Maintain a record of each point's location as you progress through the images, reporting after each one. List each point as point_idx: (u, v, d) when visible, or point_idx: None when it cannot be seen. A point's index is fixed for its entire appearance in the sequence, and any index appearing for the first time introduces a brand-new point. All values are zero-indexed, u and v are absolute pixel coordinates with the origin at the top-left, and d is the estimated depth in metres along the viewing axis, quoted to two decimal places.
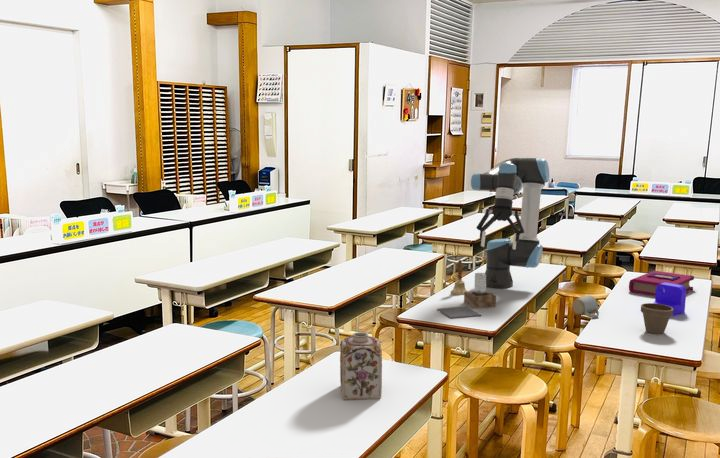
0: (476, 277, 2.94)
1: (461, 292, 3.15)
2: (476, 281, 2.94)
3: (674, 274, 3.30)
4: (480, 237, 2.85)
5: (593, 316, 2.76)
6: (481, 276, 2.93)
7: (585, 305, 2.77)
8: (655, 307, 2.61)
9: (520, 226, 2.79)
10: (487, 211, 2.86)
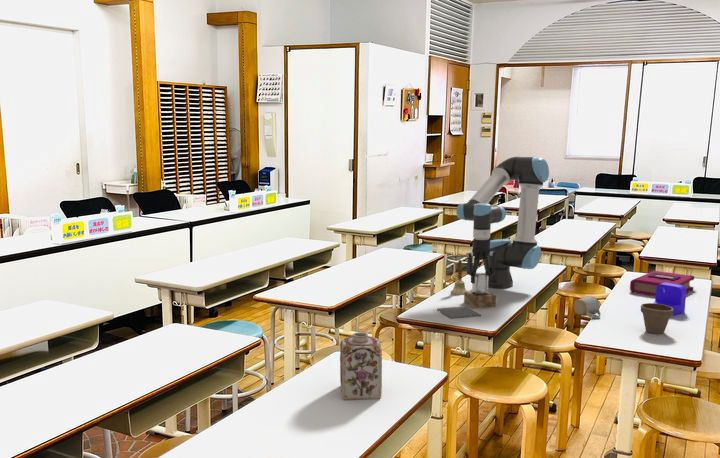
0: None
1: (461, 292, 3.15)
2: None
3: (674, 274, 3.30)
4: (473, 282, 2.94)
5: (595, 317, 2.75)
6: (481, 276, 2.93)
7: (586, 305, 2.76)
8: (655, 307, 2.61)
9: (493, 268, 2.95)
10: (470, 256, 2.91)
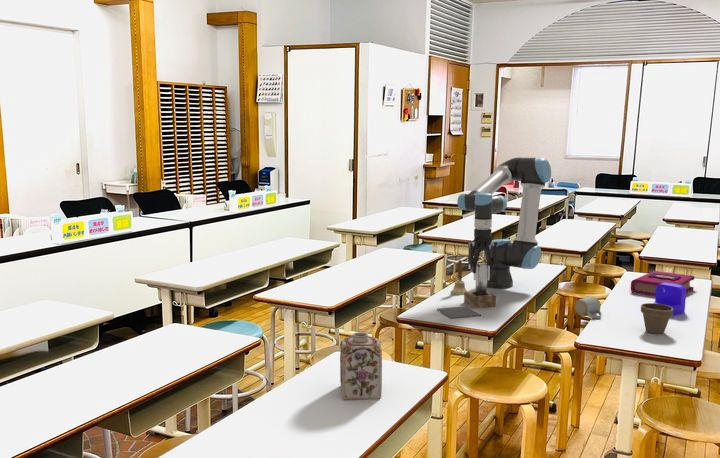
0: None
1: (461, 292, 3.15)
2: None
3: (674, 274, 3.29)
4: (474, 272, 2.93)
5: (595, 317, 2.74)
6: (482, 266, 2.92)
7: (587, 305, 2.76)
8: (655, 307, 2.61)
9: (494, 258, 2.95)
10: (471, 245, 2.91)
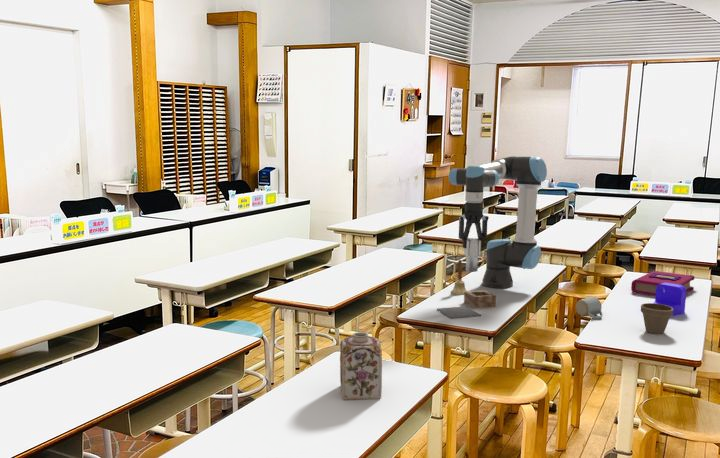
0: None
1: (461, 292, 3.15)
2: None
3: (674, 274, 3.29)
4: (464, 247, 2.85)
5: (597, 317, 2.74)
6: (473, 241, 2.84)
7: (588, 306, 2.75)
8: (655, 307, 2.61)
9: (485, 232, 2.87)
10: (462, 219, 2.83)
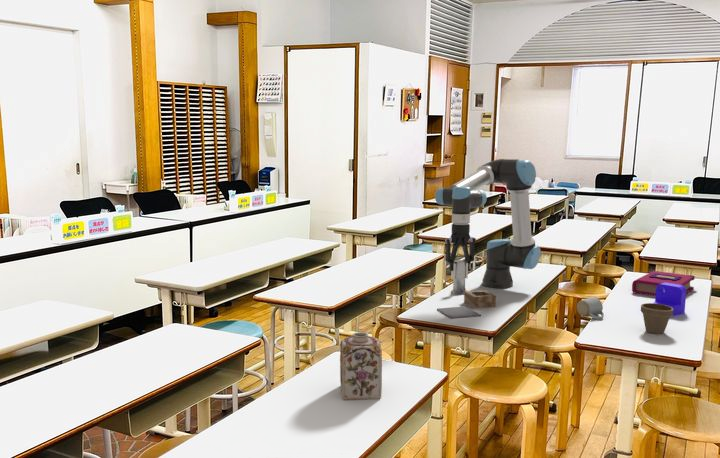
0: None
1: None
2: None
3: (674, 274, 3.29)
4: (451, 270, 2.79)
5: (598, 318, 2.73)
6: (460, 263, 2.78)
7: (589, 306, 2.75)
8: (655, 307, 2.61)
9: (473, 254, 2.80)
10: (448, 241, 2.76)
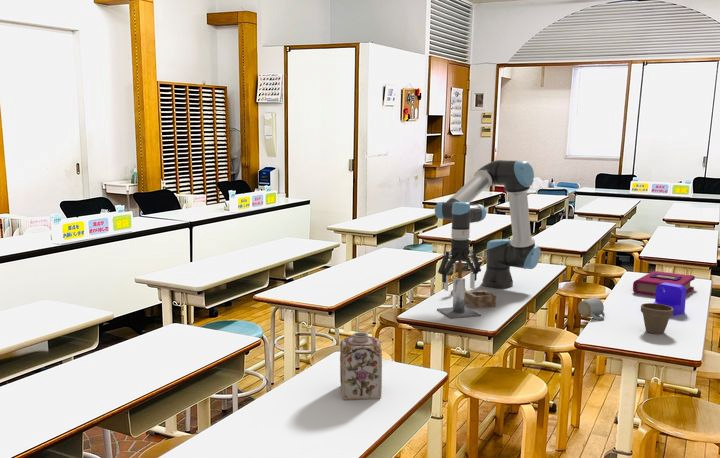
0: (454, 282, 2.81)
1: None
2: (454, 286, 2.81)
3: (675, 274, 3.29)
4: (444, 282, 2.79)
5: (599, 318, 2.73)
6: (459, 281, 2.80)
7: (591, 306, 2.74)
8: (655, 307, 2.61)
9: (478, 266, 2.82)
10: (447, 254, 2.77)
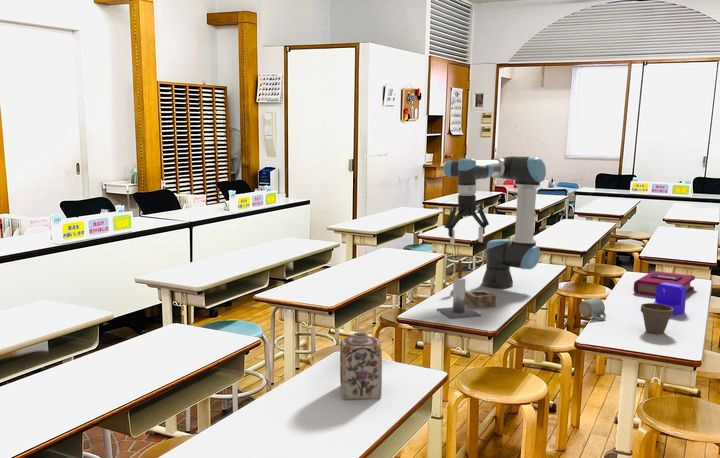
0: (455, 283, 2.80)
1: None
2: (455, 287, 2.81)
3: (675, 274, 3.29)
4: (450, 236, 2.86)
5: (600, 318, 2.72)
6: (460, 281, 2.79)
7: (592, 307, 2.74)
8: (655, 307, 2.61)
9: (486, 220, 2.89)
10: (455, 209, 2.84)
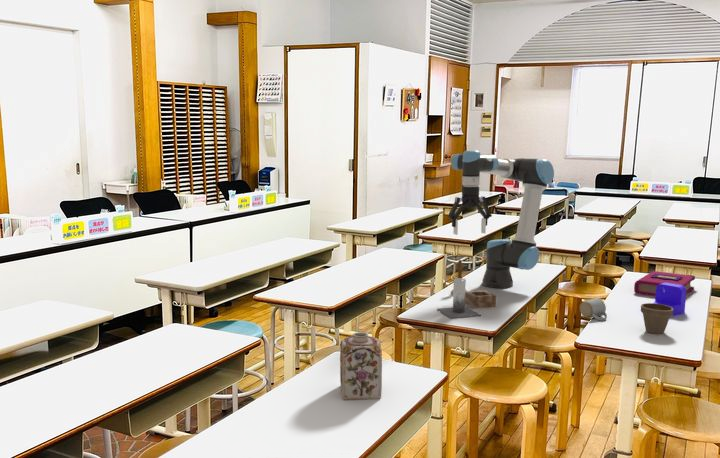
0: (455, 283, 2.80)
1: None
2: (455, 287, 2.80)
3: (675, 274, 3.29)
4: (453, 226, 2.92)
5: (601, 319, 2.72)
6: (460, 282, 2.79)
7: (593, 307, 2.73)
8: (655, 307, 2.61)
9: (489, 211, 2.95)
10: (458, 200, 2.90)
